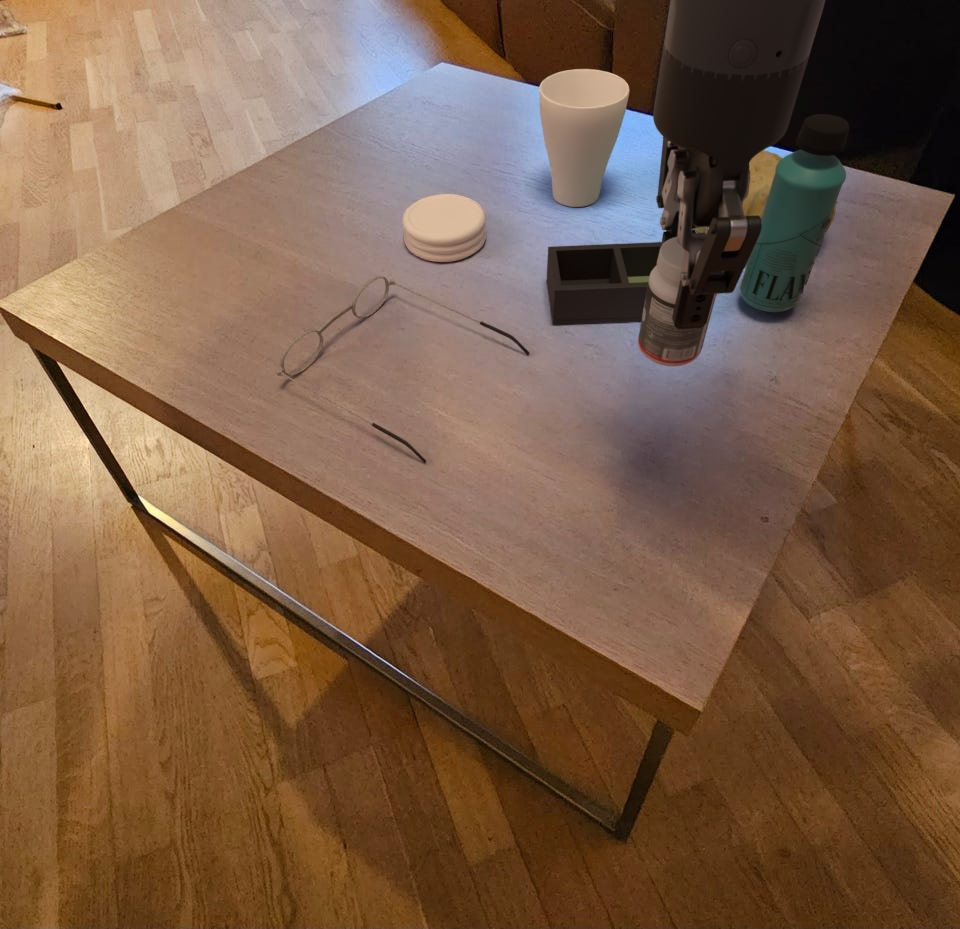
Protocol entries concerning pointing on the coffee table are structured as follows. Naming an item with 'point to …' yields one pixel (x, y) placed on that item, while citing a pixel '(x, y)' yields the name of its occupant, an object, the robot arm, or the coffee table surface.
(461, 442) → the coffee table surface
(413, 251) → the white jar lid
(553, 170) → the cup
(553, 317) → the holder
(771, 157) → the yellow lumpy rounded block
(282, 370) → the eyeglasses
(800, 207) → the beverage bottle
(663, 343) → the pill bottle
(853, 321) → the coffee table surface
